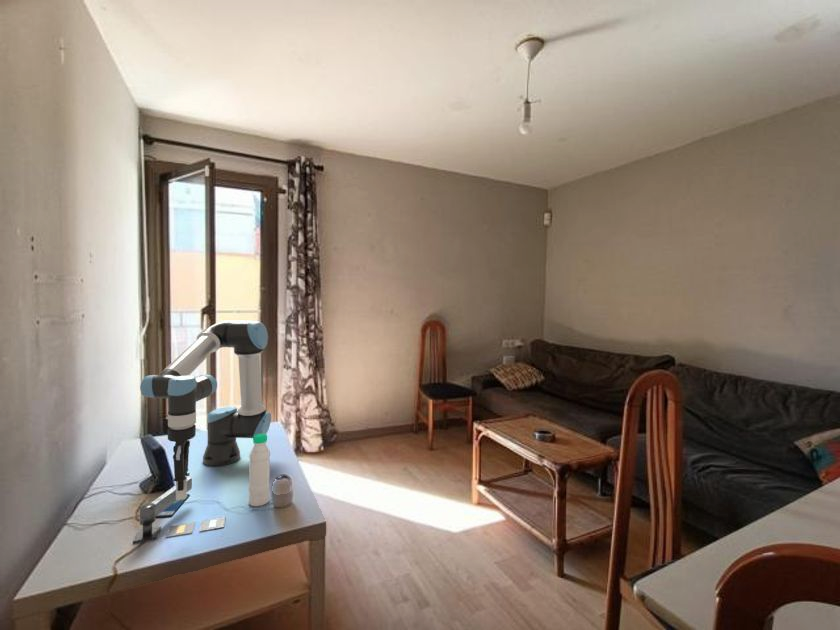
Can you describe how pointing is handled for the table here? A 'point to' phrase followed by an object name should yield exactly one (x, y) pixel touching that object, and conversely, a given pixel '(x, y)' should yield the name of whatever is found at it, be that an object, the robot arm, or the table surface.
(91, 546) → the table surface
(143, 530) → the dark grey square block
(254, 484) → the water bottle
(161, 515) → the smartphone
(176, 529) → the label plate ochre
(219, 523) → the label plate dark grey
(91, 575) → the table surface
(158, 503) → the rail
